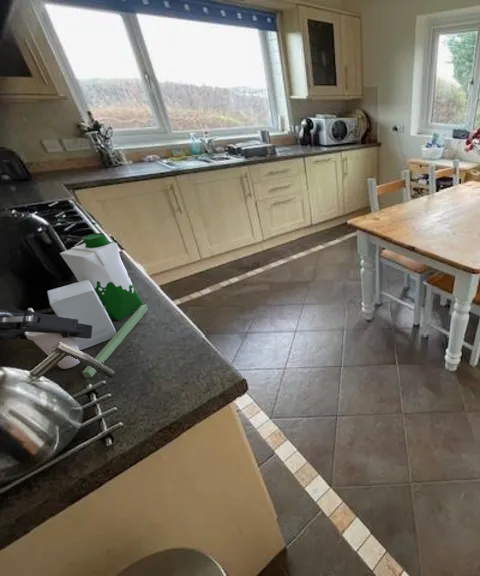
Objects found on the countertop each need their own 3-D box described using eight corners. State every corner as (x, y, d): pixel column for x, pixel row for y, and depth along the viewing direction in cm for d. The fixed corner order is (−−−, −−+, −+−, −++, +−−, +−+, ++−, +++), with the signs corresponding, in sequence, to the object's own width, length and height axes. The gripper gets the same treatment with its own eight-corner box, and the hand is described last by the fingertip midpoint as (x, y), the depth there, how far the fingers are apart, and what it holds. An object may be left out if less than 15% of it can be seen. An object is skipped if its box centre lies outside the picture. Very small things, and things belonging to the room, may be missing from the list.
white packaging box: (119, 336, 76) (93, 290, 70) (79, 351, 72) (47, 304, 65) (113, 322, 81) (89, 278, 74) (75, 336, 76) (45, 290, 70)
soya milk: (150, 304, 88) (117, 234, 77) (118, 324, 80) (77, 249, 70) (125, 299, 90) (90, 230, 79) (91, 318, 82) (48, 245, 72)
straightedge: (85, 378, 65) (81, 372, 64) (143, 309, 86) (141, 304, 85) (91, 377, 65) (88, 371, 65) (148, 309, 86) (146, 304, 85)
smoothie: (46, 365, 68) (5, 310, 61) (84, 348, 72) (49, 294, 65) (57, 378, 65) (15, 321, 58) (95, 359, 69) (61, 304, 62)
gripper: (-149, 349, 45) (17, 356, 67) (8, 335, 47) (119, 346, 69) (-135, 296, 47) (23, 320, 69) (16, 285, 49) (122, 312, 71)
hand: (71, 333), depth 69 cm, fingers closed on smoothie, 6 cm apart
